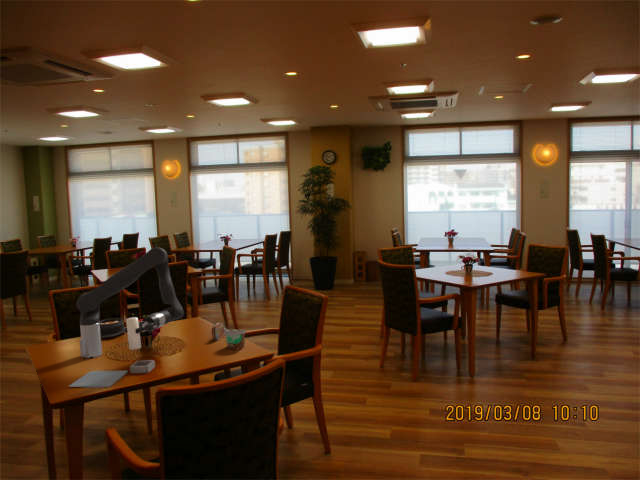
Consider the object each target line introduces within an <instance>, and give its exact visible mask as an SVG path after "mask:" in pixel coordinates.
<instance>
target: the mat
mask: <svg viewBox="0 0 640 480" xmlns="http://www.w3.org/2000/svg"><path fill="white" fill-rule="evenodd" d="M128 372H129V371H128V370H96V371H95V370H90V371H89V372H87V373H86V374H84V375H83V376H81V377H80V378H78V379H77V380H75V381H74V382H73V383H70V385H68V388H69V387H84V388H110V387H111V386H112V385H113V384H114V385H115V383H116V382H118V381H119V380H120V379H121V378H123V377H124V376H125V375H126V374H128Z"/></svg>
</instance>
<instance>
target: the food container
mask: <svg viewBox="0 0 640 480" xmlns="http://www.w3.org/2000/svg"><path fill="white" fill-rule="evenodd" d="M224 334H225V339H226V346H227V349H228V348H229V349H228V350H238V349H237V348H241V349H243V348H242V347H244V348H245V338H246V337H245V334H246V329H245V328H244V329H240V330H239V329H236V328H234V329H228V328H227V327H226V328H225V330H224Z"/></svg>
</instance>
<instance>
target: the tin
mask: <svg viewBox="0 0 640 480" xmlns="http://www.w3.org/2000/svg"><path fill="white" fill-rule="evenodd" d="M225 328H227V327H226V324H225V322H224V321H219V322H217V323H215V324H214V325H213V326H212V327H211V336H212V340H213V341H219V340H221V339H222V338H223V337H225V336H226V334H224V330H225ZM220 338H221V339H220Z"/></svg>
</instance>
